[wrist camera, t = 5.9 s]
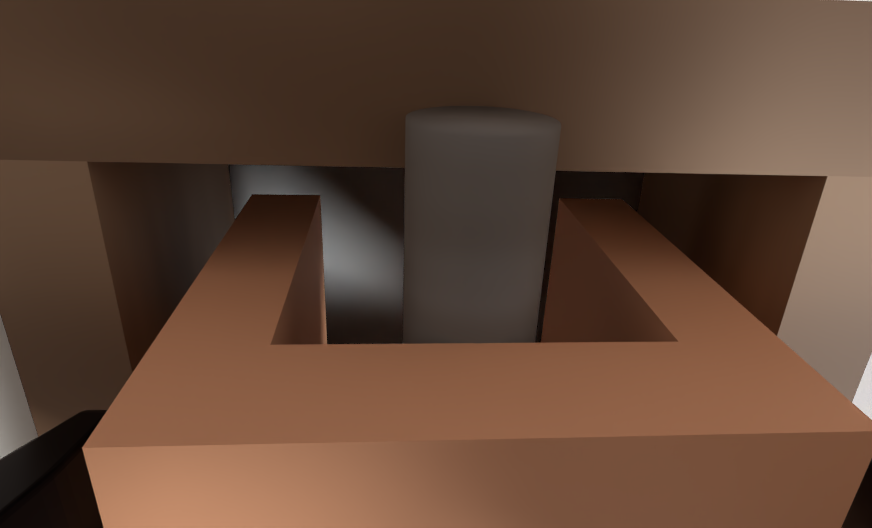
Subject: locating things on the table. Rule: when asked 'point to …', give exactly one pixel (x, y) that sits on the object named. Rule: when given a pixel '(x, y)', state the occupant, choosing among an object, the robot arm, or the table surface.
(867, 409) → the table surface
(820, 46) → the wooden divided tray
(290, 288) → the staple
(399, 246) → the table surface
